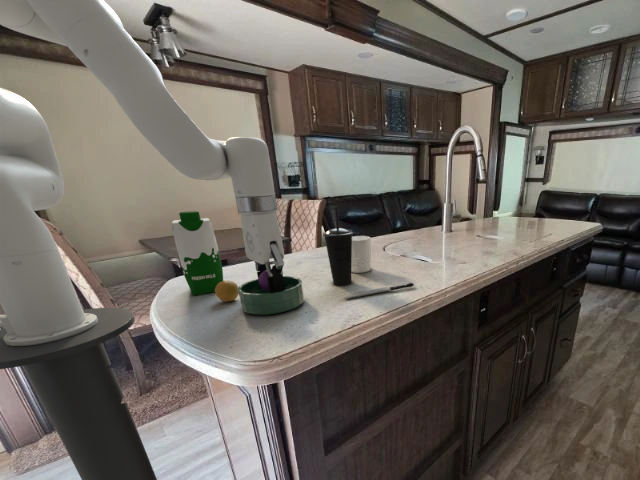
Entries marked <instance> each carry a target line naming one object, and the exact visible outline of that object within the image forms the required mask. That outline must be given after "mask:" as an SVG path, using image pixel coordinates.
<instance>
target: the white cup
mask: <svg viewBox="0 0 640 480" xmlns="http://www.w3.org/2000/svg"><path fill="white" fill-rule="evenodd" d="M371 261H372V238H371V237H370V236H366V235H354V236H353V235H352V267H351V273H354V274H359V273H360V274H361V273H368V272H370V271H371V267H372V263H371Z"/></svg>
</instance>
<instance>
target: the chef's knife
mask: <svg viewBox="0 0 640 480" xmlns="http://www.w3.org/2000/svg"><path fill="white" fill-rule="evenodd" d="M414 286H415V284H414V283H412V282H408V283H406V284H402V285H401V284H400V285H395V286H390V287H389V286H388V287H387V286H383V287H378V288H374V289H369V290H364V291H359V292H356V293H354V294H351V295H348V296H346V297H344V298H343V300H344V299H345V300H346V299H352V298H353V299H354V298H358V297H363V296H369V295H374V294H379V293H384V292H389V291H397V290H400V289H401V290H402V289H406V288H412V287H414Z"/></svg>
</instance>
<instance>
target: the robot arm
mask: <svg viewBox="0 0 640 480" xmlns="http://www.w3.org/2000/svg"><path fill="white" fill-rule="evenodd" d="M0 26H1V27H4V28H6V29H9V30H12V31H14V32H17V33H20V34H24V35H25V36H30V37H33V38H37V39H40V40H44V41H46V42H49V43H54V44H57V45H60V46H63V47H67V48H68V49H69V50H70V51H71V52H72V53H73V55H74V56H76V57H77V58H78V60H79V61H80V62H81V63H82V64H83V65H84V66H85V67H86V68H87V69H88V70H89V71H90V72H91V74H93V75H94V77H96V79H97V80H98V81H99V82H100V83H101V84H102V86H104V87H105V88H106V90H108V91H109V93H110V94H111V95H112V96H113V97H114V99H115V101H116V102H117V104H118V106H119V107H120V108H121V110H122V111H123V112H124V114H125V115H126V116H127V117H128V119H129V120H130V122H131V123H132V124H133V126H134V127H135V128H136V129H137V130H138V131H139V133H140V134H141V135H142V136H143V137H144V138H145V139H146V140H147V141H148V142H149V143H150V145H152V146H153V147H154V149H156V150H157V152H158V153H159V154H160V155H161V156H162V157H164V159H165V160H166V161H167V162H168V163H169V164H170V165H171V166H172V167H173V168H175V170H177V171H178V172H179V173H181V174H182V175H184V176H185V177H188V178H190V179H193V180H197V181H198V180H199V181H219V180H224V179H231V183H232V188H233V194H234V200H235V203H236V204H235V205H236V209H237V214H238V215H240V222H241V232H242V238H243V245H244V252H245V256H246V258H248V260H250V261H253V262H254V264H255V265H254V266H255V270H256V275H257V279H258V281H259V276H260V274H261V273H262V272H263V271H265V270H267V272H268V275H269V277H267V280H268V285H269V291H270V293H273V292H279V291H283V290H285V286H284V280H283V276H284V271H283V268H284V266H285V261H284V259H285V251H284V249H285V248H284V243H283V239H282V234H281V233H282V232H281V230H280V229H281V228H280V225H279V220H278V218H277V213H279V209H278V202H277V197H276V189H275V185H274V178H273V172H272V171H273V170H272V165H271V159H270V154H269V152H270V151H269V148H268V144H267V143H266V141H265V140H263V139H261V138H258V137H249V136H236V137H230V138H227V140H217V139H213V138H210V137H208V136H207V135H206V134H205V133H204V132H203V131H202V130H201V128H200V127H198V125H197V124H196V123H195V122H194V120H193V119H191V117H190V116H189V114H188V113H186V111H185V110H184V109H183V108H182V107H181V106H180V104H179V103H178V102H177V100H176V99H175V98H174V97H173V95H172V94H171V93H170V91H169V90H168V88H167V87H166V85H165V83H164V80H163V79H164V78H163V74H162V72H161V71H160V69H159V68H158V66H157V65H156V64H155V63H154V61H153V60H152V59H151V58H150V57H149V56H148V55H147V54H146V52H145V51H144V50H143V48H141V46H139V44H138V43H137V42H136V41H135V40H134V39H133V38H132V36H131V35H130V34H129V32H128V31H127V30H126V29H125V27H124V25H123V22H122V21H121V19H120V17H119V16H118V15H117V13H116V12H115V10H114V9H113V8H112V7H111V6H110V4H108V3H107V2H106V1H105V0H0ZM65 190H66V187H65V181H64V177H63V173H62V170H61V166H60V162H59V159H58V157H57V152H56V148H55V146H54V142H53V139H52V135H51V132H50V130H49V127H48V124H47V122H46V121H45V119H44V118H43V116H42V115H41V113H40V112H39V111H38V109H37V108H36V107H35V106H34V105H33V104H32V103H30V101H29V100H27V99H26V98H24V97H23V96H21V95H19V94H17V93H15V92H13V91H11V90H9V89H6V88H4V87H0V306H1V309H2V311H3V313H4V314H0V329H4V328H5V329H6V331H7V334H6V335H5V336H4V337H3V339H4V341H5V343H6V344H7V345H10V346H29V345H37V344H42V343H47V342H52V341H56V340H60V339H63V338H67V337H70V336H73V335H76V334H79V333H81V332H84V331H86V330H88V329H90V328H91V327H93V326H94V325H96V324H97V322H98V319H97V316H96V315H94V314H89V313H84V311H83V310H84V309H83V307H82V304H81V301H80V300H79V297H78V294H77V292H76V289H75V286H74V285H73V282H72V280H71V277H70V275H69V272H68V270H67V267H66V265H65V261H64V260H63V257H62V255H61V252H60V249H59V248H58V245H57V243H56V241H55V238H54V237H53V234H52V233H51V231H50V229H49V227H48V226H47V225H46V223H45V222H44V221H43V220H42V219H41V218H40V216H39V215H38V214H37V213H36V212H37V211H44V210H48V209H52V208H55V207H56V206H57V205H59V204H60V203H61V202H62V201H63V199H64V196H65ZM272 259H273V260H272ZM270 260H271V261H270ZM271 265H272V266H271ZM271 269H272V270H271ZM259 286H260V285H259ZM260 288H261V286H260ZM261 289H262V288H261Z"/></svg>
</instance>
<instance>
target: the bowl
mask: <svg viewBox="0 0 640 480" xmlns="http://www.w3.org/2000/svg"><path fill="white" fill-rule="evenodd" d="M283 280H284V286H285V290H283V291H279V292H273V293H270V292H268V291H265V290H263V289H261V288H260V286H259V281H258V278H255V279H253V280H250V281H246V282H244V283H242V284H241V285H239V286H238V293H239V295H238V296H239V301H240V306H241V309H242V311H243V312H245V313H246V314H252V315H261V316H265V315H266V316H269V315H275V314H276V315H277V314H281V313H284V312H288V311H291V310H294V309H295V308H297V307H299V306H301V305H302V304H304V302H305V295H304V287H303V281H302V279H301V278H300V277H296V276H289V275H283Z"/></svg>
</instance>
